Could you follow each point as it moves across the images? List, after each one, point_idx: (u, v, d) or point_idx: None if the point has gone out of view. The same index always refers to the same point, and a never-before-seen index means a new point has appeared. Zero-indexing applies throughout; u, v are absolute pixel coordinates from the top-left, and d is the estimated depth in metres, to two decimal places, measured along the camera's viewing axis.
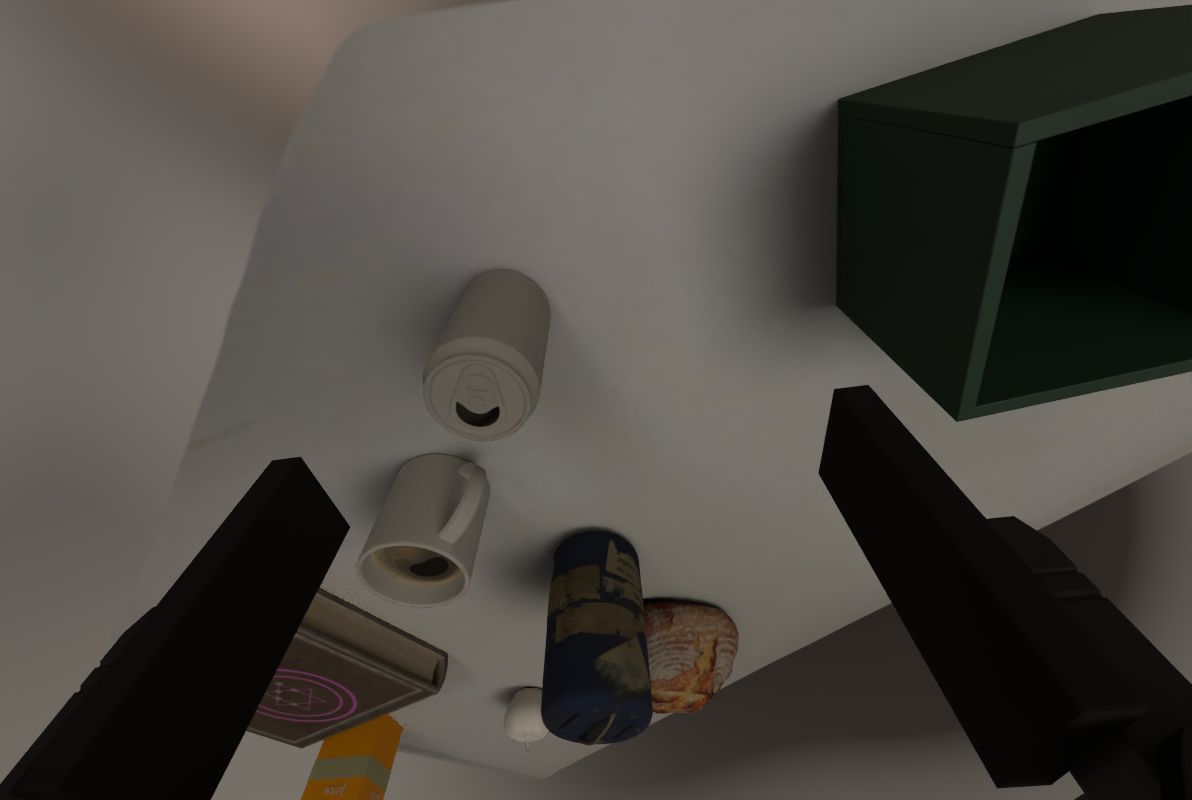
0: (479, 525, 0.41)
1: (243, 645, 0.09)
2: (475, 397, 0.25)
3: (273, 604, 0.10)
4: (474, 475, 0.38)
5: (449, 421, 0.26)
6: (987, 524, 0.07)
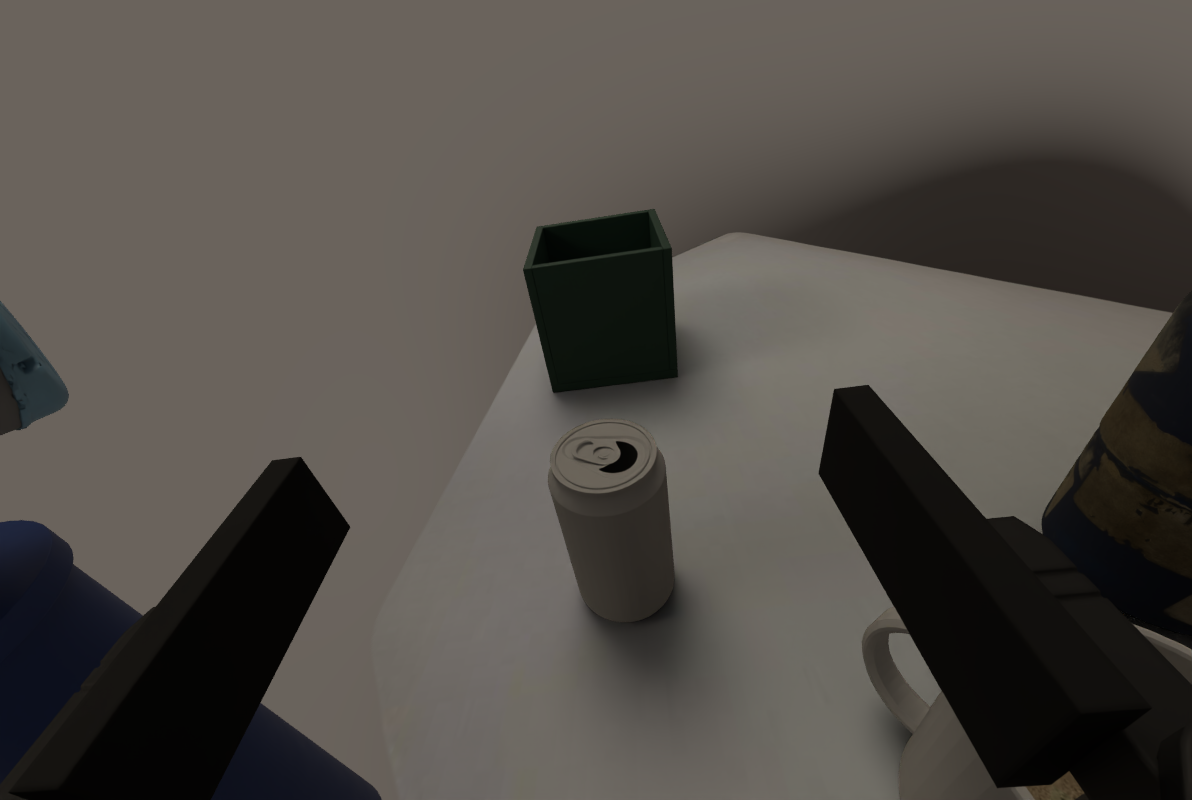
0: None
1: (243, 645, 0.09)
2: (598, 454, 0.24)
3: (273, 604, 0.10)
4: (862, 640, 0.22)
5: (621, 480, 0.23)
6: (987, 524, 0.07)
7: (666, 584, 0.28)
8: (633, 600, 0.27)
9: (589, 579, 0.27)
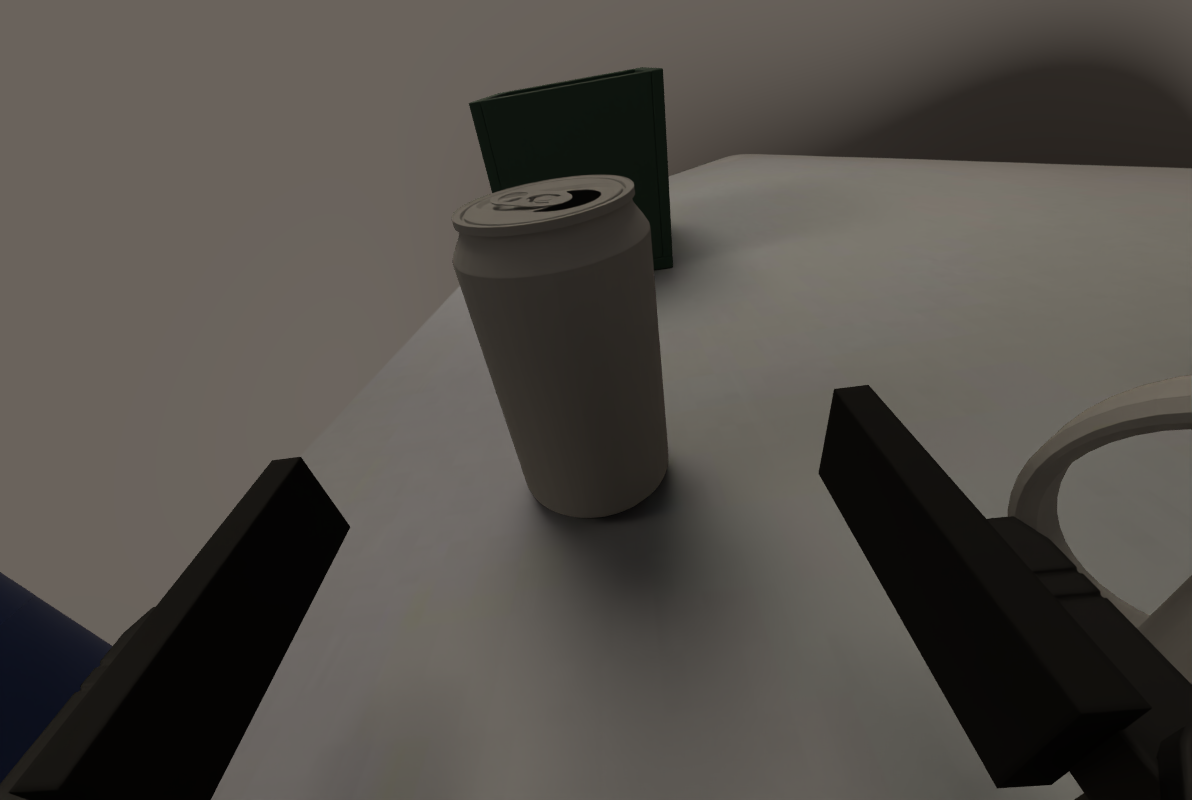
0: None
1: (243, 645, 0.09)
2: (534, 200, 0.14)
3: (273, 604, 0.10)
4: None
5: (568, 212, 0.12)
6: (987, 524, 0.07)
7: (655, 456, 0.18)
8: (602, 474, 0.17)
9: (530, 438, 0.16)
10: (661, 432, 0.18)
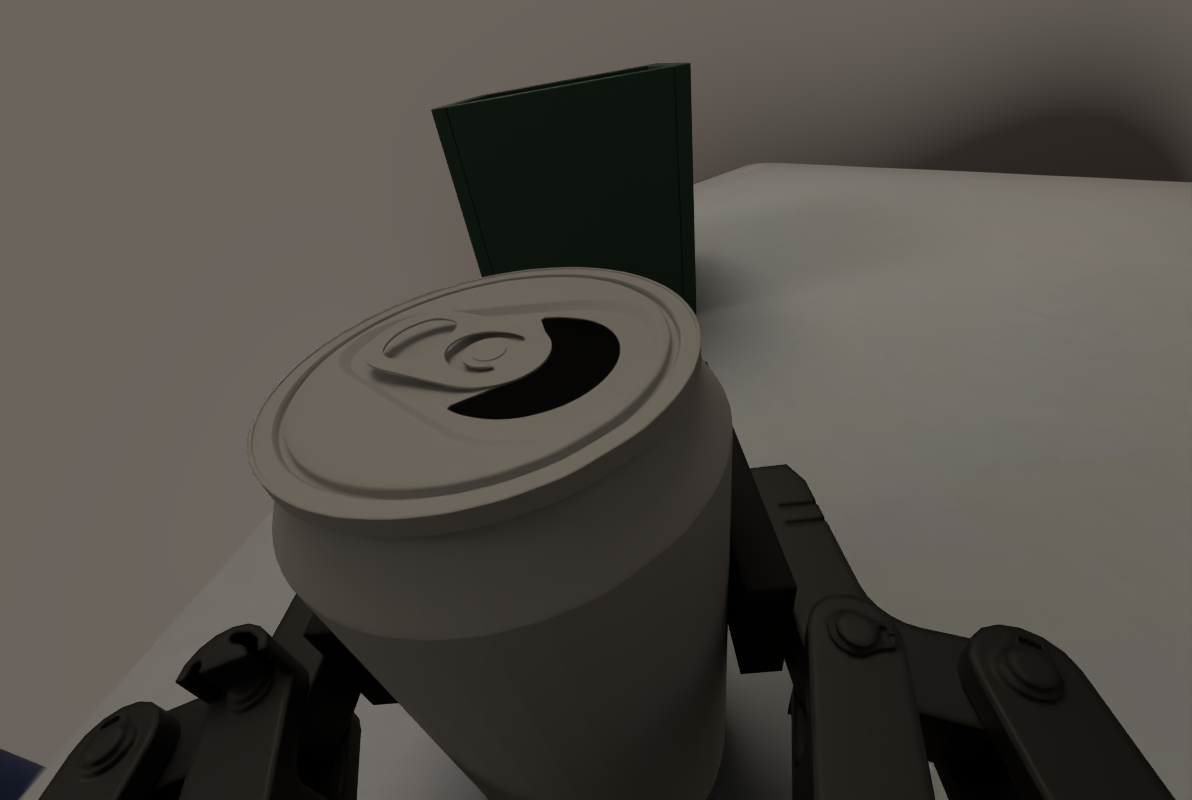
0: None
1: None
2: (464, 355, 0.06)
3: None
4: None
5: (530, 450, 0.04)
6: (746, 466, 0.09)
7: (712, 763, 0.10)
8: None
9: (475, 784, 0.08)
10: (722, 718, 0.10)
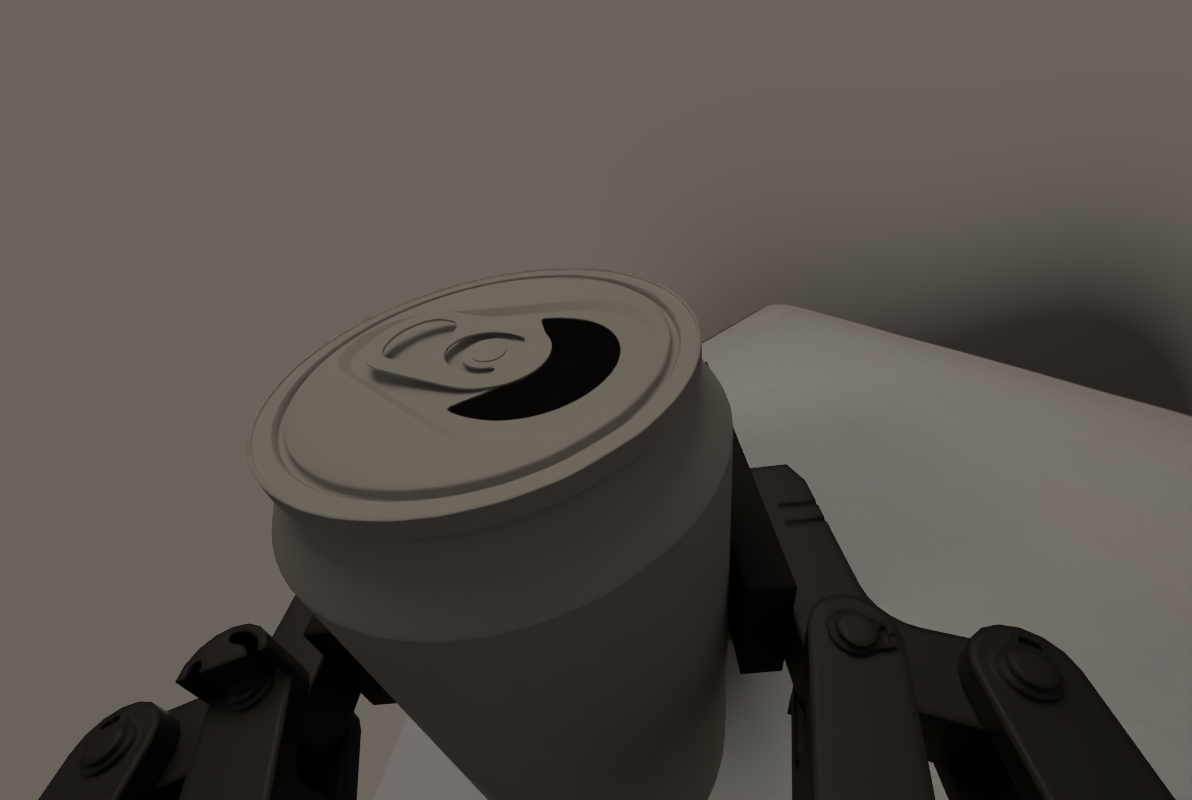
0: None
1: None
2: (465, 356, 0.06)
3: None
4: None
5: (530, 452, 0.04)
6: (745, 466, 0.09)
7: (712, 764, 0.10)
8: None
9: (475, 785, 0.08)
10: (722, 719, 0.10)
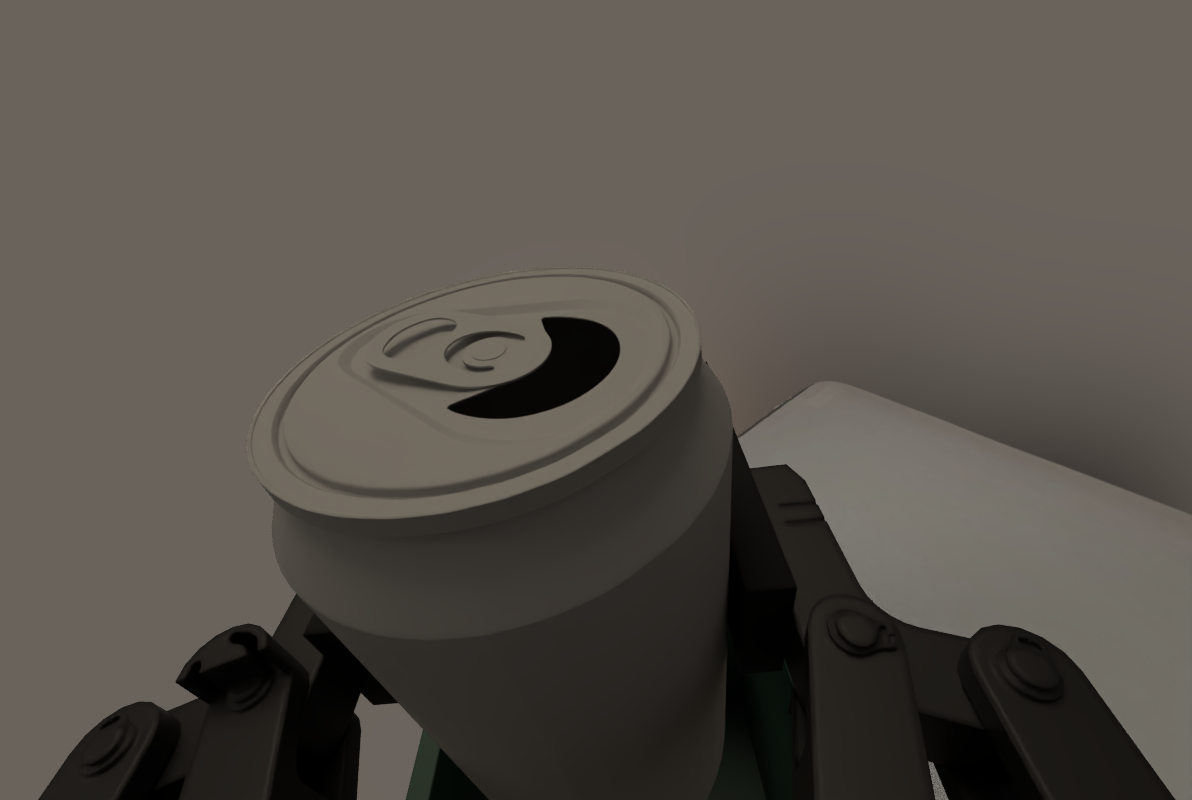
0: None
1: None
2: (464, 355, 0.06)
3: None
4: None
5: (530, 450, 0.04)
6: (746, 466, 0.09)
7: (712, 763, 0.10)
8: None
9: None
10: (722, 718, 0.10)
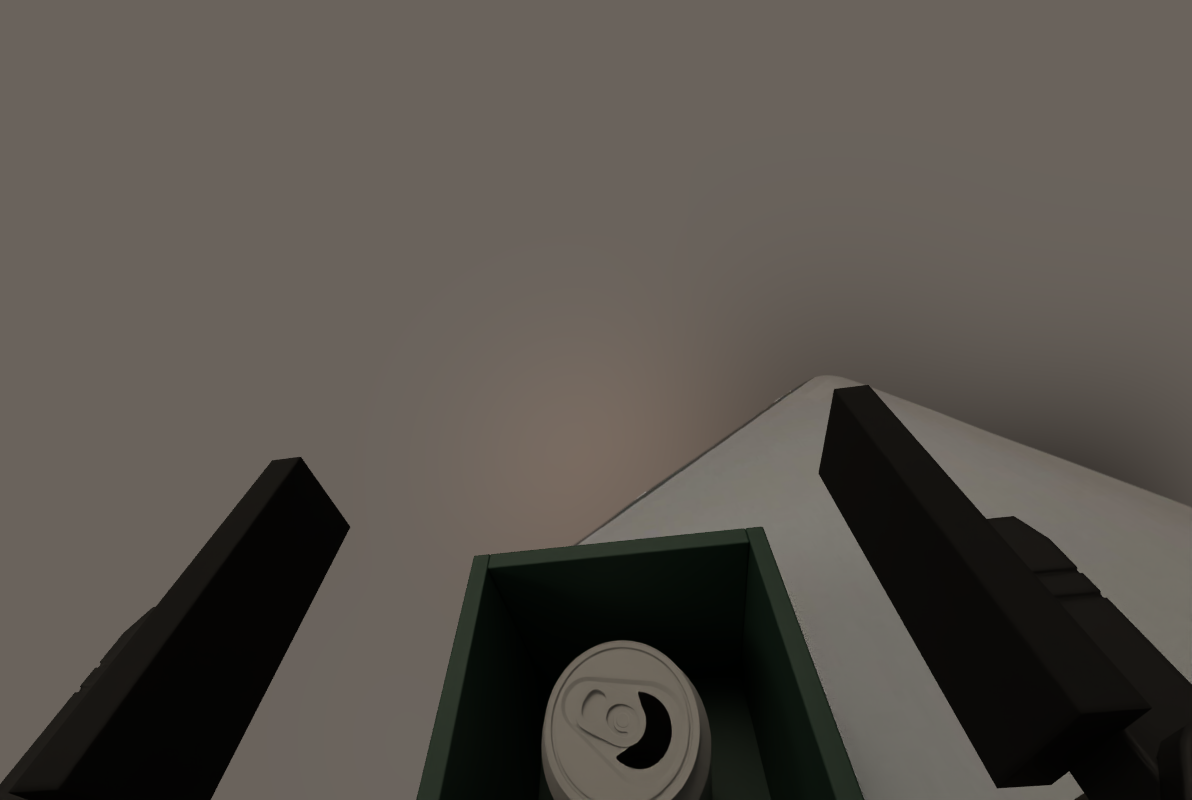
0: None
1: (243, 645, 0.09)
2: (613, 721, 0.17)
3: (273, 604, 0.10)
4: None
5: (650, 791, 0.15)
6: (987, 524, 0.07)
7: None
8: None
9: None
10: None
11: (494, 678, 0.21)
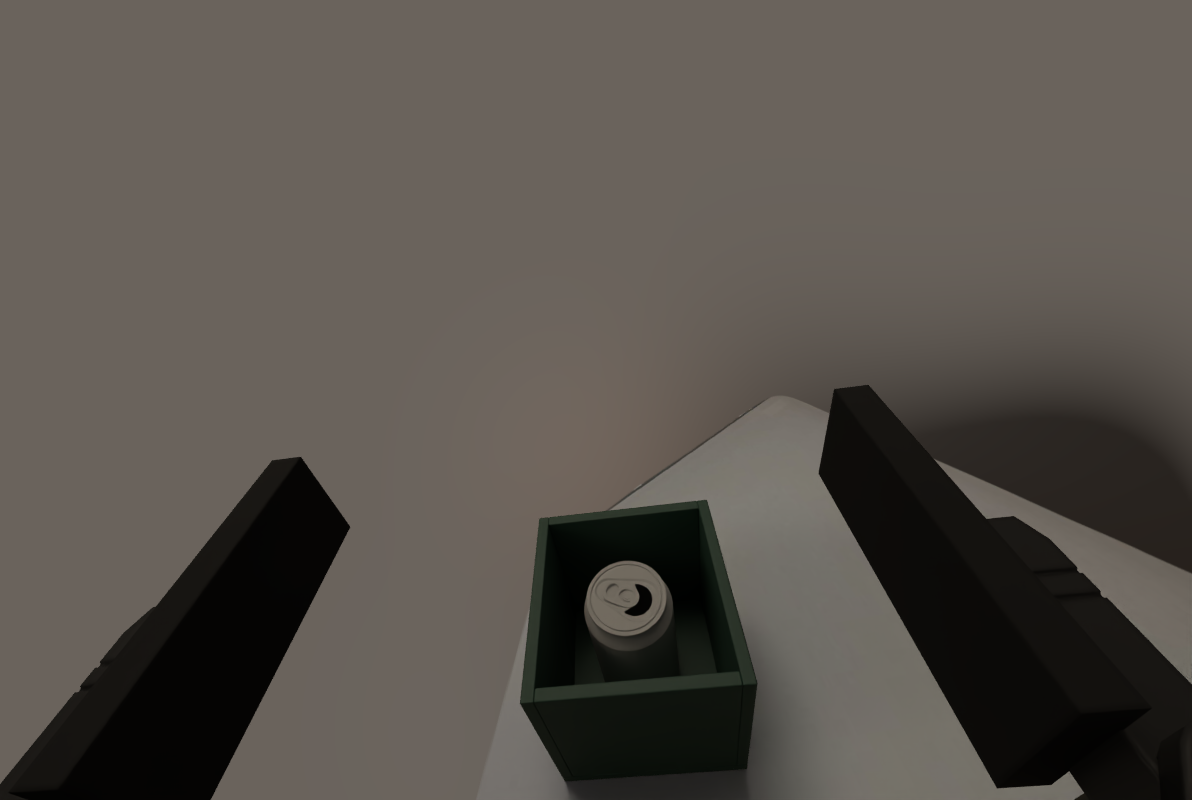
0: None
1: (243, 645, 0.09)
2: (622, 596, 0.33)
3: (273, 604, 0.10)
4: None
5: (641, 623, 0.31)
6: (987, 524, 0.07)
7: None
8: None
9: None
10: (676, 670, 0.36)
11: (554, 586, 0.36)
